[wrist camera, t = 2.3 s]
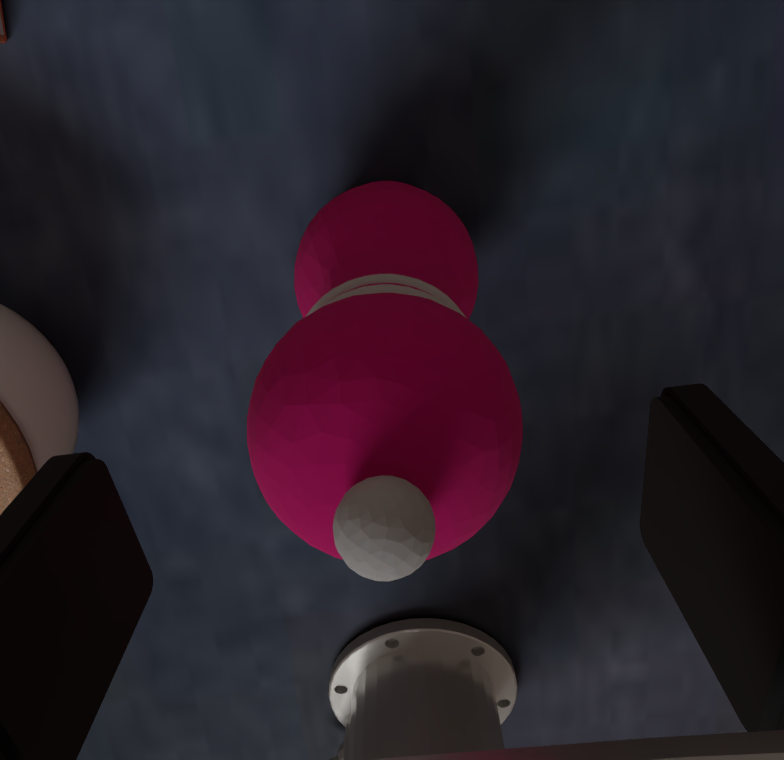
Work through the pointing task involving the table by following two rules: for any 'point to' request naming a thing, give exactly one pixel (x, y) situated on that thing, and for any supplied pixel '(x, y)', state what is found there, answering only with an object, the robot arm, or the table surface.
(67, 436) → the lidded bowl
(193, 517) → the table surface
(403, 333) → the pepper mill
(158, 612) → the table surface
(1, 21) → the cracker box
